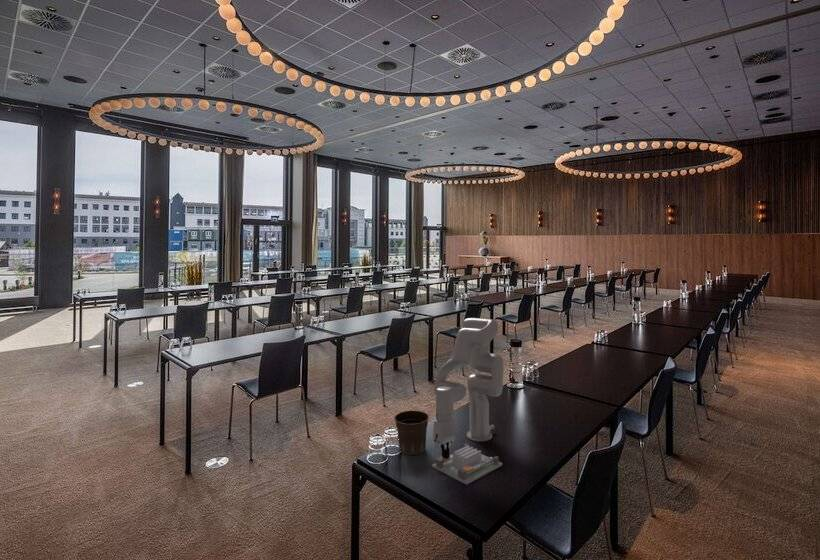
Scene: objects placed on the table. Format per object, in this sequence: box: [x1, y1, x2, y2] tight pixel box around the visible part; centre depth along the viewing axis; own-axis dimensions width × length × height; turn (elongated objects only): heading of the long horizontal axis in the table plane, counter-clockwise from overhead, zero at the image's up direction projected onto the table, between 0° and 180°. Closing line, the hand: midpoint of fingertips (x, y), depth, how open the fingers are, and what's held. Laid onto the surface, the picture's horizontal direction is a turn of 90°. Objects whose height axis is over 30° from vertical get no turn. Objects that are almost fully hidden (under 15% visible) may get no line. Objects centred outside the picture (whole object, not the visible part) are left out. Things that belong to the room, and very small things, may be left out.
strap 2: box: [461, 456, 494, 475], centre depth 190 cm, size 19×3×2 cm, turn 131°
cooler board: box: [431, 443, 503, 485], centre depth 194 cm, size 23×20×6 cm
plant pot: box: [394, 410, 430, 456], centre depth 211 cm, size 16×16×16 cm
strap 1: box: [438, 453, 453, 463], centre depth 200 cm, size 19×3×2 cm, turn 131°
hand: (445, 456), depth 195 cm, fingers closed
